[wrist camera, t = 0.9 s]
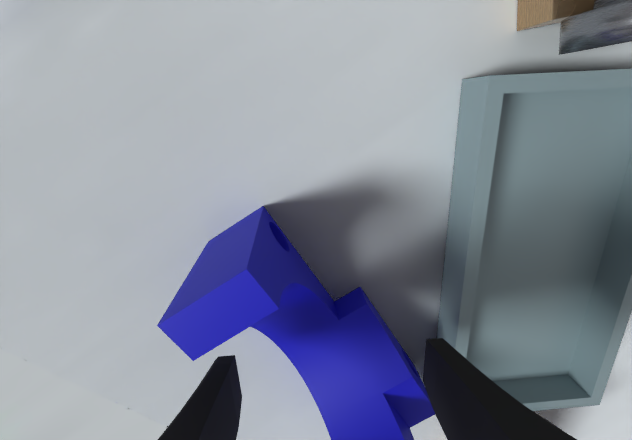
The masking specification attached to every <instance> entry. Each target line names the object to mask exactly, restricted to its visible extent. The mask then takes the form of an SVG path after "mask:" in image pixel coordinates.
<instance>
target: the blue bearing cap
mask: <svg viewBox="0 0 632 440" xmlns="http://www.w3.org/2000/svg"><path fill="white" fill-rule="evenodd" d="M157 326H158V327H159V328H160V329H161V330H162V331H163V332H164V333H165V334H166V335H167V336H168V337H169V338H170V339H171V340H172V341H173V342H174V343H175V344H176V345H178V346H179V347H180V348H181V349H182V350H183V351H184V352H185V353H186V354H187V355H188V356H189V357H190V358H191V359H192V360H193V361H194V360H195V359H197V358H199V357H200V356H202V355H204V354H205V353H207V352H209V351H210V350H212V349H214V348H215V347H217V346H219V345H220V344H222V343H223V342H225V341H227V340H228V339H230V338H232V337H233V336H235V335H237V334H238V333H240V332H242V331H243V330H245V329H247V328H248V327H253V328H255V329H257V330H259V331H260V332H262V333H263V334H265V335H266V336H267V337H269V338H270V339H271V340H272V341H273V342H274V343H275V344H276V345H277V346H278V347H279V348H280V349H281V350H282V351H283V352H284V353H285V354H286V355H287V357H288V358H289V359H290V361H291V362H292V363H293V365H294V366H295V367H296V369H297V370H298V372H299V373H300V375H301V377H302V378H303V380H304V381H305V383H306V385H307V387H308V388H309V390H310V392H311V394H312V396H313V398H314V400H315V402H316V404H317V406H318V408H319V410H320V412H321V415H322V417H323V419H324V422H325V424H326V427H327V429H328V432H329V435H330V437H331V440H414V438H413V436H412V433H411V431H410V427H412V426H414V425H416V424H418V423H419V422H421V421H423V420H425V419H427V418H429V417H431V416H433V415H435V412H434V410H433V408H432V405H431V402H430V399H429V397H428V394H427V391H426V388H425V386H424V384H423V382H422V380H421V378H420V376H419V374H418V372H417V370H416V368H415V366H414V364H413V363H412V361H411V360H410V358H409V357H408V355H407V354H406V352H405V351H404V350H403V348H402V347H401V345H400V344H399V342H398V341H397V339H396V338H395V337H394V335H393V334H392V332H391V331H390V329H389V328H388V326H387V325H386V323H385V322H384V321H383V319H382V318H381V316H380V315H379V313H378V312H377V310H376V309H375V308H374V306H373V305H372V303H371V302H370V300H369V299H368V297H367V296H366V294H365V293H364V292H363V290H362V289H361V287H359V288H357V289H355V290H354V291H352V292H350V293H348V294H347V295H345V296H343V297H341V298H340V299H338V300H336V301H335V302H334V301H333V299H332V298H331V297H330V295H329V294H328V293H327V291H326V290H325V289H324V287H323V286H322V284H321V283H320V282H319V280H318V279H317V278H316V276H315V275H314V274H313V272H312V271H311V270H310V268H309V267H308V266H307V264H306V263H305V262H304V260H303V259H302V257H301V256H300V255H299V253H298V252H297V251H296V249H295V248H294V247H293V245H292V244H291V243H290V241H289V240H288V239H287V237H286V236H285V235H284V233H283V232H282V230H281V229H280V228H279V226H278V225H277V224H276V222H275V221H274V220H273V218H272V217H271V216H270V214H269V213H268V212H267V210H266V209H265V207H264V206H262V207H261V208H259V209H258V210H256V211H254V212H253V213H251V214H250V215H248V216H247V217H245V218H244V219H242V220H241V221H239V222H237V223H236V224H234V225H233V226H231V227H230V228H228V229H227V230H225V231H224V232H222V233H221V234H219V235H218V236H216V237H215V238H213V239H212V240H210V241H209V242H208V243H207V245H206V246H205V248H204V250H203V251H202V253H201V255H200V256H199V258H198V260H197V261H196V263H195V264H194V266H193V268H192V269H191V271H190V273H189V274H188V276H187V278H186V279H185V281H184V282H183V284H182V286H181V287H180V289H179V291H178V292H177V294H176V296H175V297H174V299H173V300H172V302H171V304H170V305H169V307H168V309H167V310H166V312H165V314H164V315H163V317H162V318H161V320H160V322H159V323H158V325H157Z"/></svg>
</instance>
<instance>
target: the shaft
mask: <svg viewBox="0 0 632 440" xmlns="http://www.w3.org/2000/svg"><path fill="white" fill-rule="evenodd" d="M560 22H561V30H560V45H559V54H565V53H571V52H576V51H582V50H587V49H593V48H598V47H603V46H608V45H614V44H619V43H624V42H629V41H632V0H518V13H517V31H521V30H526V29H530V28H535V27H540V26H545V25H550V24H555V23H560Z"/></svg>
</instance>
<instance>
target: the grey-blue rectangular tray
mask: <svg viewBox="0 0 632 440" xmlns="http://www.w3.org/2000/svg"><path fill="white" fill-rule="evenodd" d="M631 311H632V69H614V70H593V71H573V72H553V73H532V74H512V75H492V76H483V77H476V78H469V79H462V87H461V97H460V107H459V118H458V128H457V138H456V148H455V158H454V168H453V178H452V188H451V198H450V209H449V219H448V229H447V239H446V249H445V259H444V269H443V279H442V289H441V300H440V310H439V320H438V330H437V338H443V339H444V340H445V341H447V342H448V343H449V344H450V345H451V346H452V347H453V348H454V349H456V350H457V351H458V352H459V353H460V354H461V355H462V356H464V357H465V358H466V359H467V360H468V361H469V362H470V363H472V364H473V365H474V366H475V367H476V368H477V369H479V370H480V371H481V372H482V373H483V374H485V375H486V376H487V377H488V378H489V379H491V380H492V381H493V382H494V383H496V384H497V385H498V386H499V387H501V388H502V389H503V390H504V391H506V392H507V393H508V394H510V395H511V396H512V397H514V398H515V399H516V400H518V401H519V402H520V403H522V404H523V405H525V406H526V407H527V408H529V409H530V410H532V411H540V410H551V409H561V408H572V407H583V406H593V405H600V402H601V399H602V396H603V393H604V390H605V387H606V384H607V381H608V379H609V376H610V373H611V370H612V367H613V364H614V361H615V358H616V355H617V352H618V349H619V346H620V343H621V341H622V338H623V335H624V332H625V329H626V326H627V323H628V320H629V317H630V314H631Z"/></svg>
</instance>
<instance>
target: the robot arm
mask: <svg viewBox="0 0 632 440" xmlns="http://www.w3.org/2000/svg"><path fill="white" fill-rule="evenodd" d="M423 382H424V385H425V388H426V391H427V394H428V397H429V399H430V402H431V405H432V408H433V410H434V412H435V414H436V416H437V418H438V421H439V423H440V425H441V427H442V429H443V431H444V433H445V435H446V437H447V439H448V440H577V439H575V438H573V437H572V436H570V435H568V434H567V433H565V432H564V431H562V430H560V429H559V428H557V427H556V426H554V425H552V424H551V423H549V422H548V421H547V420H545V419H544V418H542V417H541V416H539V415H538V414H536V413H535V412H533V411H532V410H530V409H529V408H527V407H526V406H525V405H523V404H522V403H520V402H519V401H518V400H516V399H515V398H514V397H512V396H511V395H510V394H508V393H507V392H506V391H504V390H503V389H502V388H501V387H499V386H498V385H497V384H496V383H494V382H493V381H492V380H491V379H489V378H488V377H487V376H486V375H485V374H483V373H482V372H481V371H480V370H479V369H477V368H476V367H475V366H474V365H473V364H472V363H470V362H469V361H468V360H467V359H466V358H465V357H464V356H462V355H461V354H460V353H459V352H458V351H457V350H456V349H454V348H453V347H452V346H451V345H450V344H449V343H448V342H447V341H445V340H444V339H443V338H435V339H427V340H426V351H425V363H424V374H423ZM241 401H242V394H241V388H240V382H239V376H238V371H237V365H236V359H235V355H233V356H221V357H218V358H217V359H216V360H215V361H214V363H213V365H212V366H211V368H210V369H209V371H208V372H207V374H206V375H205V377H204V378H203V380H202V381H201V383H200V384H199V386H198V387H197V389H196V390H195V392H194V393H193V394H192V396H191V397H190V399H189V400H188V401H187V403H186V404H185V406H184V407H183V408H182V410H181V411H180V412H179V414H178V415H177V416H176V417H175V419H174V420H173V421H172V423H171V424H170V425H169V426H168V428H167V429H166V430H165V431H164V433H163V434H162V435H161V436H160V438H159V439H158V440H236V437H237V432H238V427H239V419H240V411H241Z"/></svg>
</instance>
